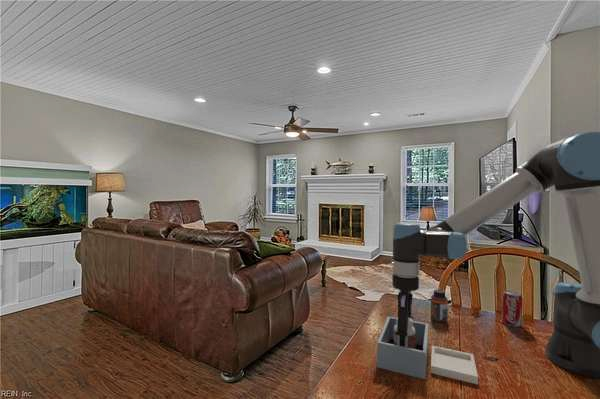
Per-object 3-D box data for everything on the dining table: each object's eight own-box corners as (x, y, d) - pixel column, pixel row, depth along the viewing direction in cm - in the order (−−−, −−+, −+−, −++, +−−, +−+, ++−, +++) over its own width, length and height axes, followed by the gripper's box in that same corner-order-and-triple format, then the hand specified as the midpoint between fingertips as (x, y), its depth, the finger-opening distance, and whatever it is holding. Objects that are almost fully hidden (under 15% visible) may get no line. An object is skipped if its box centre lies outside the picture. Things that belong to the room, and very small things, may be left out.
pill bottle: (419, 357, 88) (420, 320, 87) (406, 363, 84) (407, 325, 84) (402, 348, 93) (402, 313, 93) (389, 353, 89) (389, 317, 89)
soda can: (502, 319, 116) (502, 289, 115) (522, 323, 112) (523, 292, 112) (500, 324, 111) (501, 293, 111) (521, 329, 107) (522, 296, 107)
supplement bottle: (427, 317, 117) (427, 289, 116) (439, 315, 118) (439, 287, 118) (438, 323, 111) (438, 294, 111) (450, 321, 113) (451, 292, 113)
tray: (472, 360, 86) (473, 354, 86) (477, 384, 75) (478, 376, 75) (431, 351, 91) (431, 345, 91) (430, 372, 80) (431, 365, 80)
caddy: (427, 345, 95) (428, 323, 94) (425, 379, 77) (426, 353, 77) (387, 336, 100) (388, 316, 100) (376, 367, 82) (377, 342, 82)
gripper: (397, 265, 100) (396, 330, 100) (386, 282, 80) (385, 364, 80) (421, 267, 97) (419, 335, 97) (416, 286, 76) (414, 371, 77)
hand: (404, 348), depth 88 cm, fingers open, 10 cm apart
